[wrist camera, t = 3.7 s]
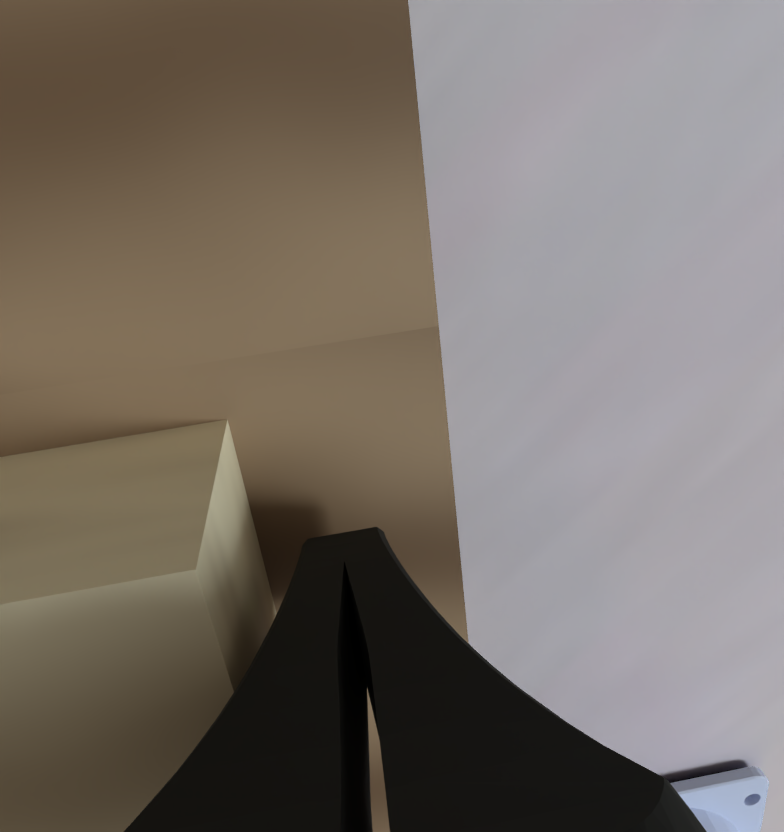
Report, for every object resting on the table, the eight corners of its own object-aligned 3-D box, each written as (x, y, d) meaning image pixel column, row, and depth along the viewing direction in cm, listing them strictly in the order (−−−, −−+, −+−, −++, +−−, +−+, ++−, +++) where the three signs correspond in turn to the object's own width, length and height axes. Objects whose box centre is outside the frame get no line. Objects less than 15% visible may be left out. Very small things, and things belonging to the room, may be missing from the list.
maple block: (294, 684, 14) (294, 890, 10) (-10, 743, 13) (-121, 978, 10) (227, 419, 11) (196, 569, 8) (-151, 482, 11) (-374, 672, 7)
